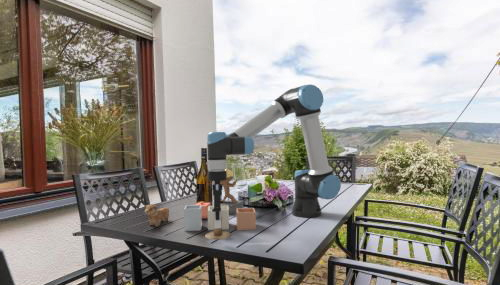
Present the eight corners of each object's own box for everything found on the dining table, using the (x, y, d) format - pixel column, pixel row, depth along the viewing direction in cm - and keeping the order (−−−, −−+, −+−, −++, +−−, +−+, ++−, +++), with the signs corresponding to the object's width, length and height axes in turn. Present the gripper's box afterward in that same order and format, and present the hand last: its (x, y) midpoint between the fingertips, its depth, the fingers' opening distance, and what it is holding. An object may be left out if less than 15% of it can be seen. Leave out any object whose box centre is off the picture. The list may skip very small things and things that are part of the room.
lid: (230, 232, 128) (230, 213, 127) (231, 241, 117) (230, 220, 117) (205, 233, 127) (205, 214, 127) (204, 242, 116) (203, 221, 116)
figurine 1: (139, 227, 136) (139, 205, 136) (162, 218, 151) (162, 199, 151) (151, 229, 134) (151, 206, 134) (173, 220, 149) (173, 199, 148)
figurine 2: (243, 211, 165) (242, 165, 165) (240, 216, 154) (240, 167, 154) (218, 210, 166) (217, 165, 166) (213, 215, 156) (213, 167, 155)
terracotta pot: (254, 225, 137) (253, 207, 137) (255, 230, 129) (255, 212, 129) (236, 226, 137) (236, 208, 136) (237, 231, 129) (237, 212, 128)
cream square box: (228, 224, 139) (228, 205, 139) (229, 230, 130) (228, 209, 130) (209, 225, 138) (208, 206, 138) (207, 231, 129) (207, 210, 129)
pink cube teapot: (213, 220, 147) (212, 203, 146) (189, 220, 148) (189, 203, 148) (216, 216, 154) (216, 200, 154) (194, 216, 156) (193, 200, 156)
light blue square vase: (202, 227, 136) (201, 205, 136) (200, 231, 129) (200, 208, 129) (186, 227, 135) (185, 205, 135) (184, 232, 128) (183, 209, 128)
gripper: (209, 167, 133) (210, 216, 133) (206, 173, 109) (206, 233, 109) (226, 167, 134) (227, 215, 134) (226, 173, 109) (227, 232, 109)
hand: (218, 223), depth 121 cm, fingers open, 12 cm apart
